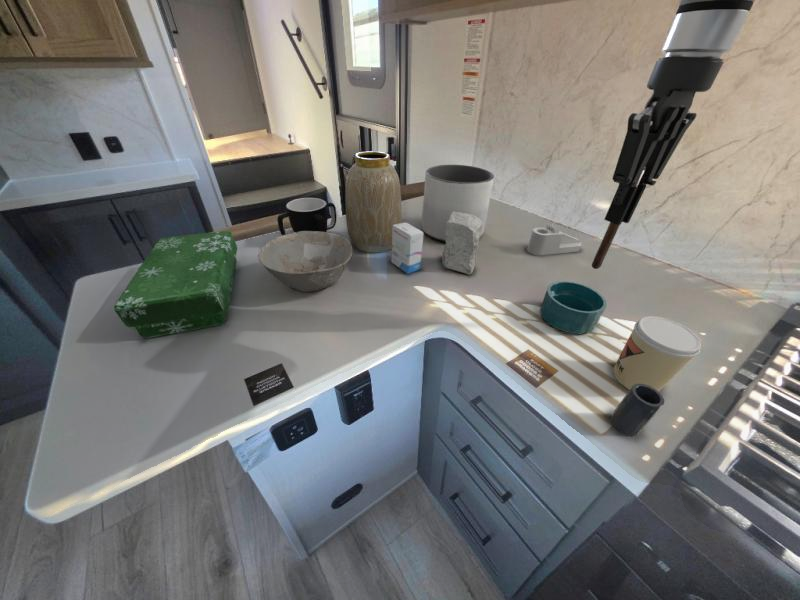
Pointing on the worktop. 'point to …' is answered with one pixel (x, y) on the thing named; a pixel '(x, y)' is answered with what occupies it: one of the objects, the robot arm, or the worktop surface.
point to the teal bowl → (572, 307)
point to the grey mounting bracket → (551, 241)
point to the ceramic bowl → (307, 259)
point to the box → (181, 285)
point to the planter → (454, 196)
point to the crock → (636, 409)
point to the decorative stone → (461, 242)
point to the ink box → (407, 247)
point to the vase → (372, 201)
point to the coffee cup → (655, 352)
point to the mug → (308, 215)
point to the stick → (608, 238)
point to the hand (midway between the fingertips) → (616, 220)
